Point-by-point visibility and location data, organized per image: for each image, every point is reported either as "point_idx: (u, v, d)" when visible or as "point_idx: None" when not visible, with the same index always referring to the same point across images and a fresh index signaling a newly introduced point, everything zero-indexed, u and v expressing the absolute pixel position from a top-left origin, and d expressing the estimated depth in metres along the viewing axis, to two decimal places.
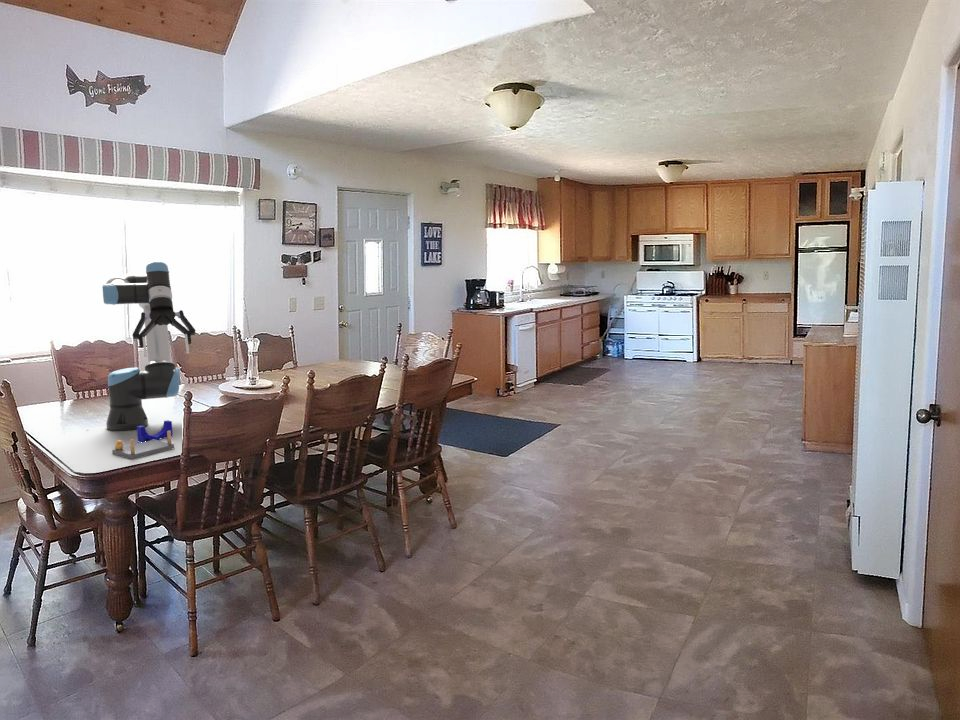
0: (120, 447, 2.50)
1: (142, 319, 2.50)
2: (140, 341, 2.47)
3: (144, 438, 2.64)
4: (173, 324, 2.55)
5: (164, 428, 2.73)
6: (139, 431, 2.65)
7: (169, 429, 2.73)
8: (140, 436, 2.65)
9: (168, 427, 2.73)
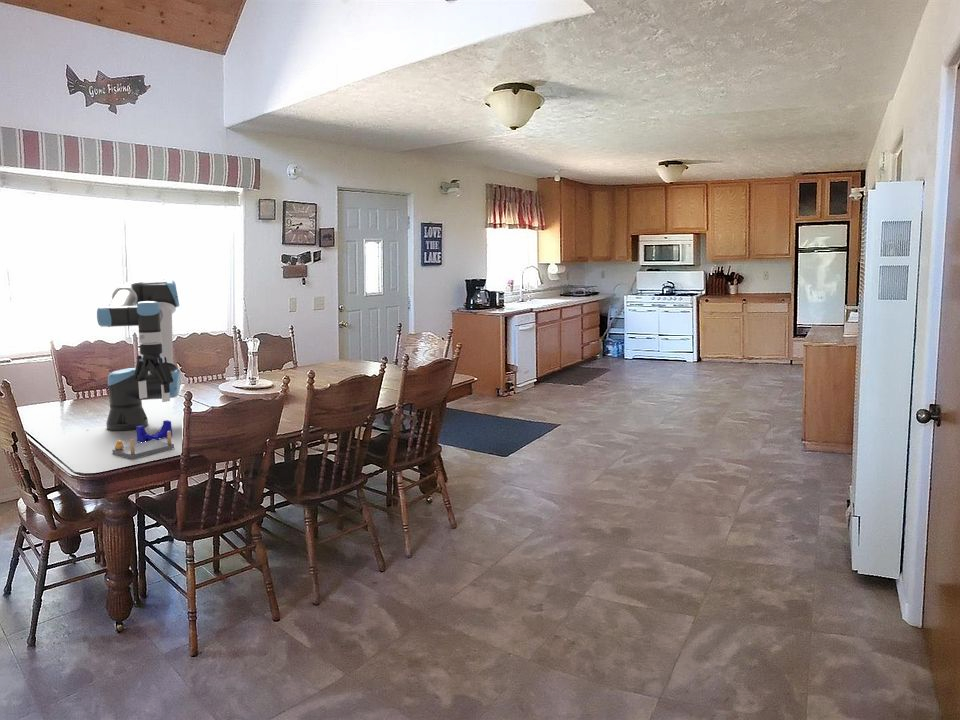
0: (120, 447, 2.50)
1: (138, 363, 2.67)
2: (138, 384, 2.70)
3: (143, 438, 2.64)
4: None
5: (163, 428, 2.73)
6: (138, 431, 2.65)
7: (168, 429, 2.73)
8: (139, 436, 2.66)
9: (167, 427, 2.73)
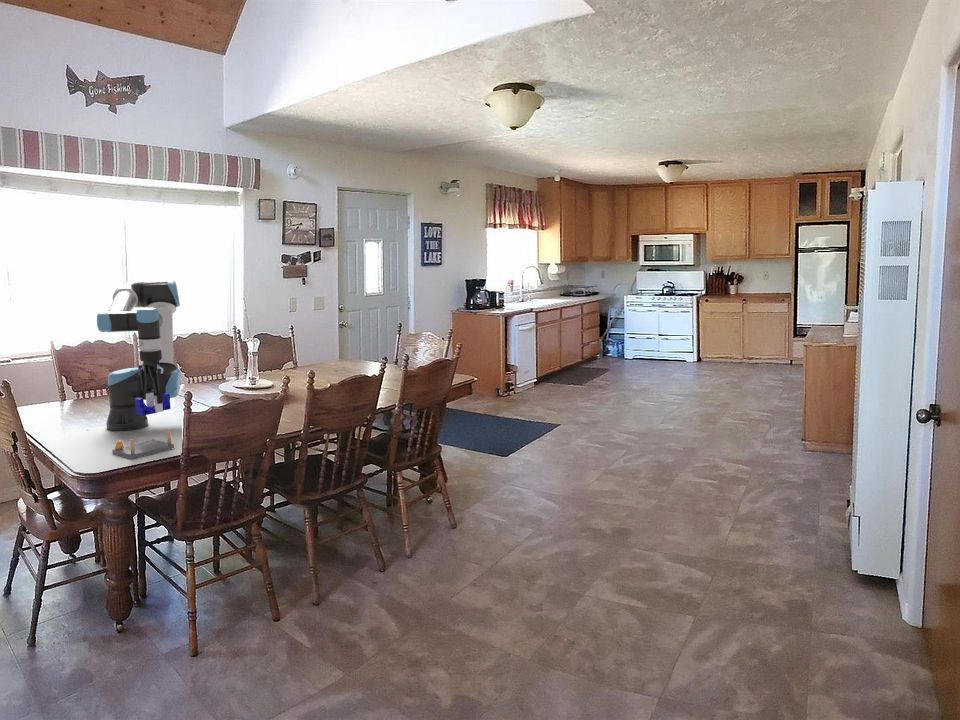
0: (120, 447, 2.50)
1: (140, 372, 2.68)
2: (146, 396, 2.69)
3: (143, 410, 2.63)
4: None
5: (162, 400, 2.71)
6: (137, 403, 2.63)
7: (167, 401, 2.72)
8: (138, 408, 2.64)
9: (166, 399, 2.71)
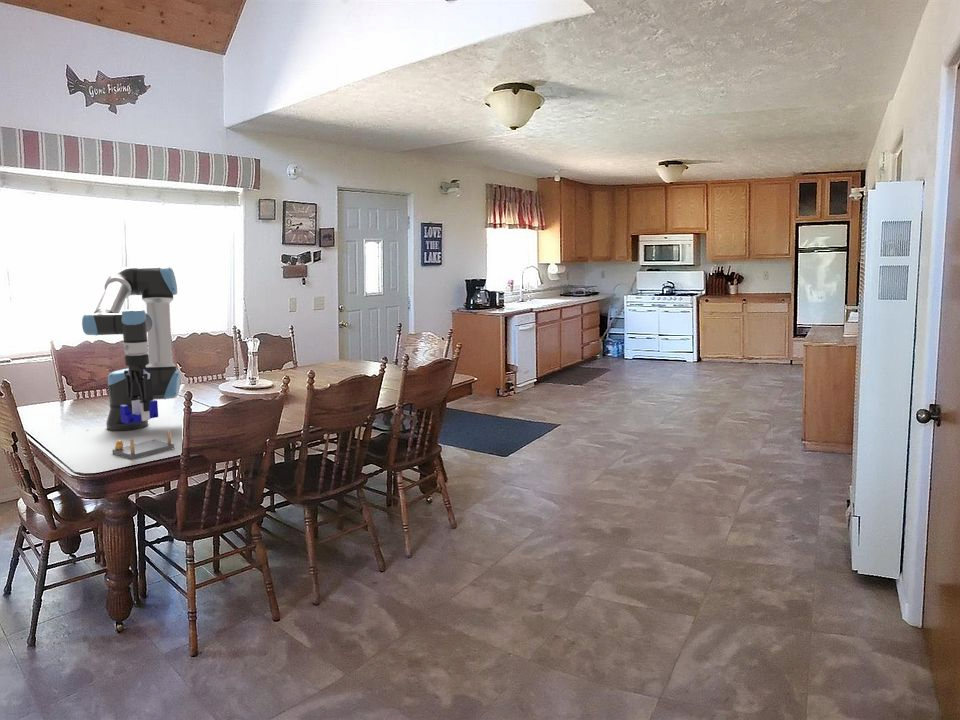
0: (120, 447, 2.50)
1: (126, 378, 2.52)
2: (132, 404, 2.53)
3: (128, 418, 2.46)
4: None
5: (149, 408, 2.55)
6: (123, 410, 2.47)
7: (154, 409, 2.55)
8: (123, 416, 2.47)
9: (153, 407, 2.55)
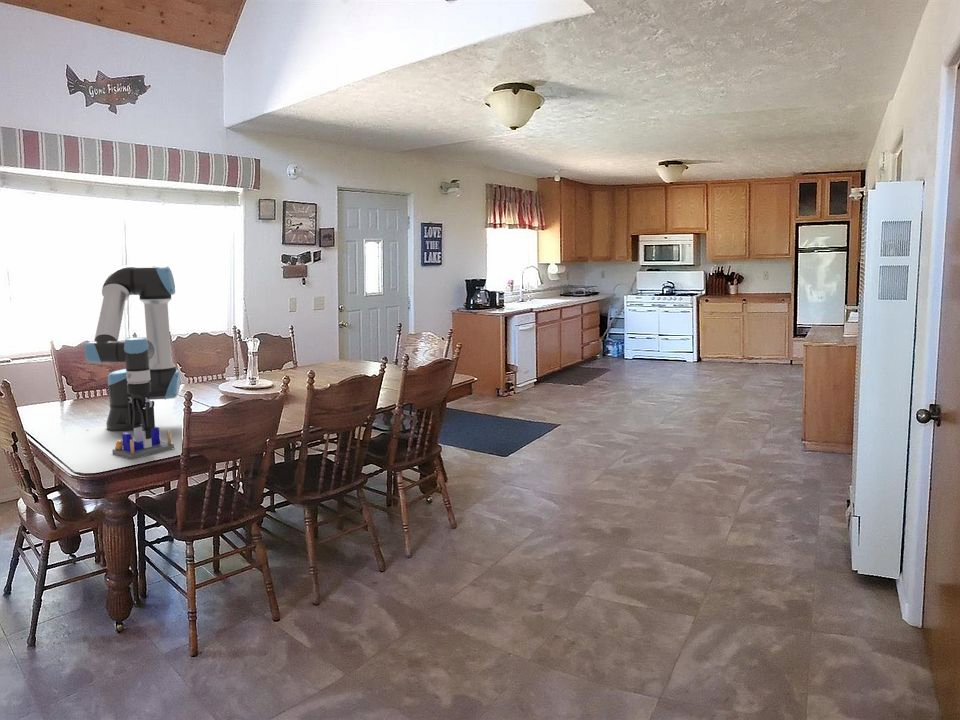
0: (120, 447, 2.50)
1: (128, 406, 2.54)
2: (134, 431, 2.55)
3: None
4: None
5: (151, 435, 2.57)
6: (125, 438, 2.49)
7: (156, 436, 2.57)
8: (125, 444, 2.49)
9: (155, 434, 2.56)
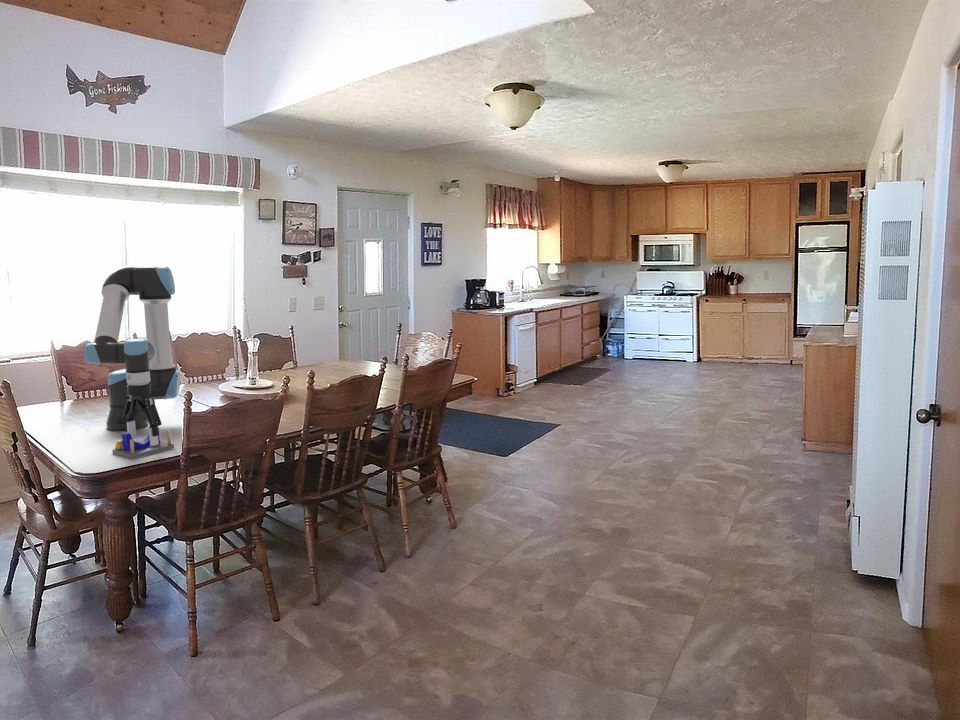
0: (120, 447, 2.50)
1: (126, 403, 2.54)
2: None
3: None
4: None
5: None
6: (125, 438, 2.49)
7: None
8: (125, 444, 2.49)
9: None
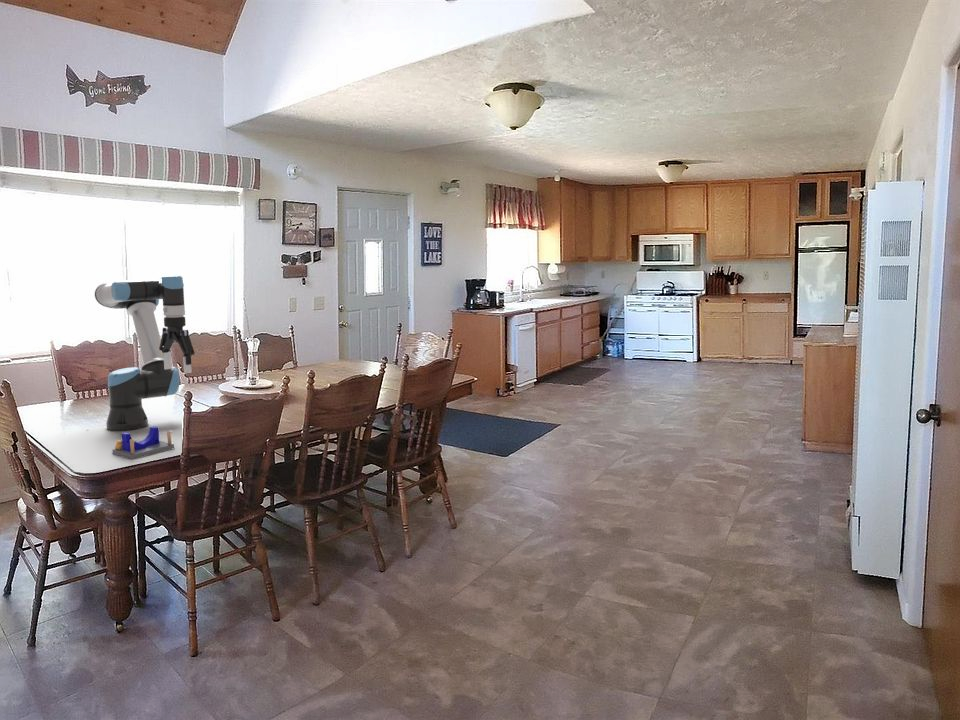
0: (120, 447, 2.50)
1: (163, 335, 2.76)
2: None
3: None
4: None
5: (150, 435, 2.57)
6: (124, 438, 2.49)
7: (156, 436, 2.57)
8: (125, 444, 2.49)
9: (155, 433, 2.57)
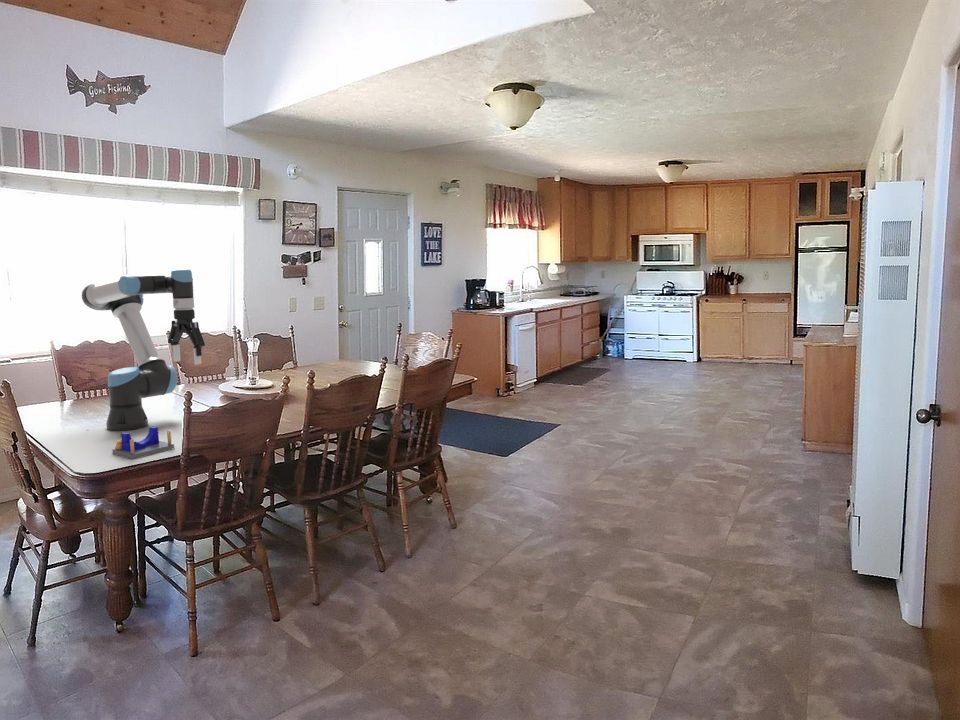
0: (120, 447, 2.50)
1: (172, 328, 2.82)
2: (172, 348, 2.85)
3: None
4: None
5: (150, 434, 2.57)
6: (124, 438, 2.49)
7: (155, 435, 2.57)
8: (124, 444, 2.49)
9: (154, 433, 2.57)
